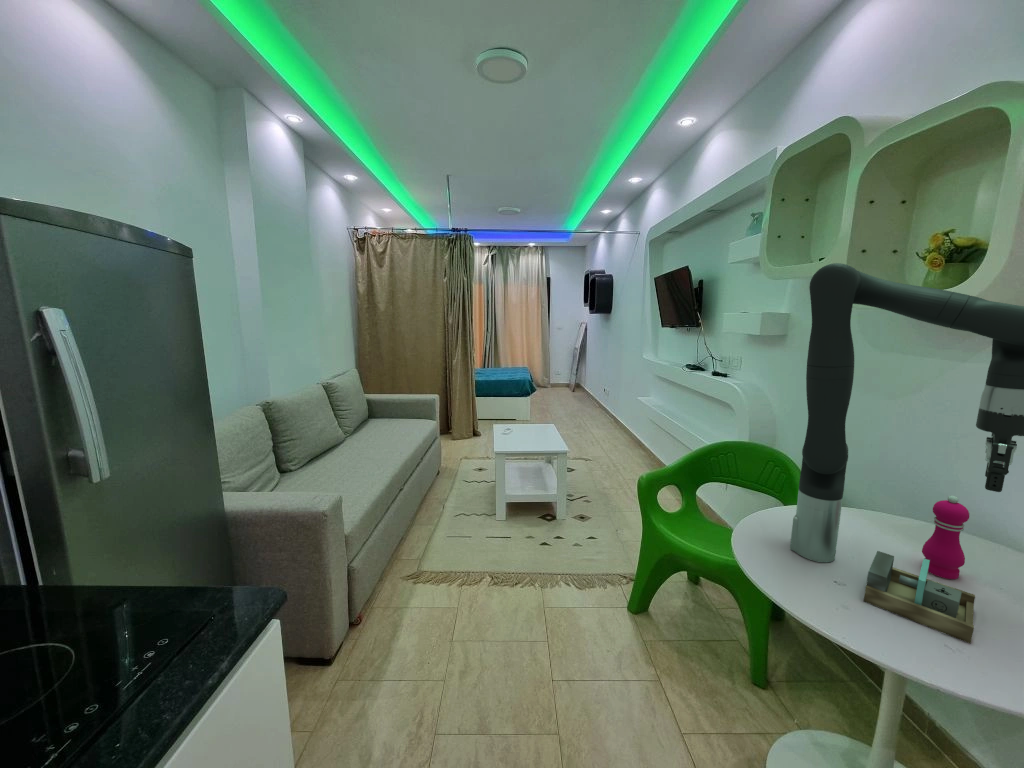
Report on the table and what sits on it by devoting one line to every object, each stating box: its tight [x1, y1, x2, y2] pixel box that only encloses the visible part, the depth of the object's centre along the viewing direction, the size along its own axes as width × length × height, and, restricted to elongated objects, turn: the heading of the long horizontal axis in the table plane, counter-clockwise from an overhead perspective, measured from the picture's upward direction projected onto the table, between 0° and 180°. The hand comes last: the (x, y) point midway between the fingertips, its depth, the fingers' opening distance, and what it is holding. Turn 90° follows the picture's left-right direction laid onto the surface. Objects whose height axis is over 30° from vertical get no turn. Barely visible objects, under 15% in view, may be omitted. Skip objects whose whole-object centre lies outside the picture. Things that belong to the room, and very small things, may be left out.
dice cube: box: [921, 579, 962, 618], centre depth 86 cm, size 5×5×5 cm
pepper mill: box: [921, 495, 970, 580], centre depth 98 cm, size 7×7×20 cm
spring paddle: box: [899, 558, 930, 605], centre depth 89 cm, size 4×11×8 cm, turn 131°
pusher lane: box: [863, 550, 976, 644], centre depth 88 cm, size 16×14×7 cm
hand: (992, 484), depth 84 cm, fingers open, 8 cm apart
